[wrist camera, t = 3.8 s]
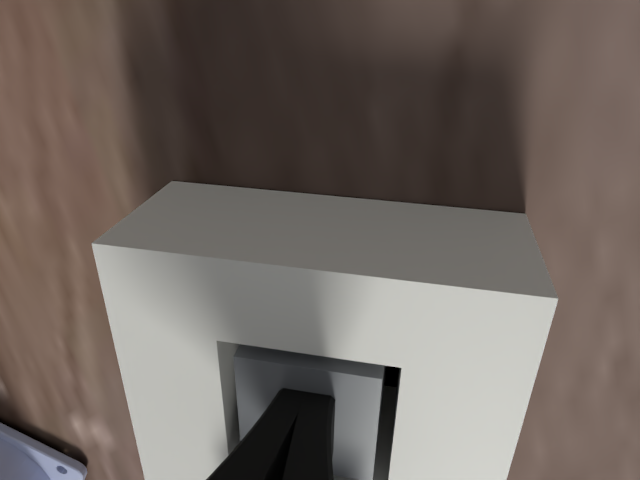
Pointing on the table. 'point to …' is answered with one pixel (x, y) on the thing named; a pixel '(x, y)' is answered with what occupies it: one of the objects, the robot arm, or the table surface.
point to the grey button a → (323, 378)
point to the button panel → (327, 319)
